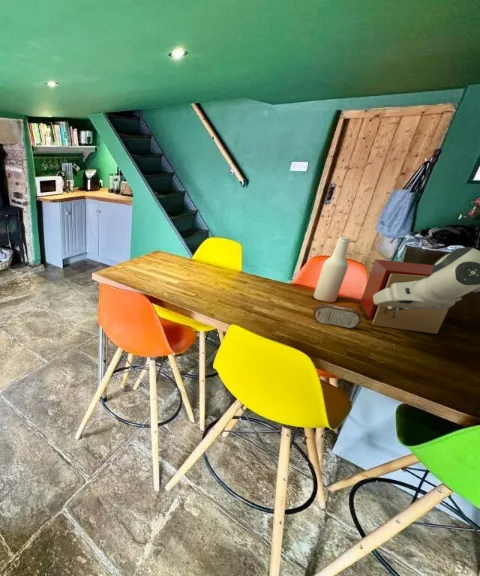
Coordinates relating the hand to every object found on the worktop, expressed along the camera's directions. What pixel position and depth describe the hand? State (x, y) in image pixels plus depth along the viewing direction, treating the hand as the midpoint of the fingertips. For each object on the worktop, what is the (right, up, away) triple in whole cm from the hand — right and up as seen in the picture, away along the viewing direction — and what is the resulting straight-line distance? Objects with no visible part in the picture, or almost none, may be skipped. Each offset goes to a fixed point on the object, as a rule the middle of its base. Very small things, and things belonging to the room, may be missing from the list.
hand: (395, 307), depth 110 cm
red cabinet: (+14, -5, +15) cm, 21 cm away
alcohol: (-2, +2, +32) cm, 33 cm away
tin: (-16, -8, +9) cm, 20 cm away
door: (+8, -10, +3) cm, 13 cm away
